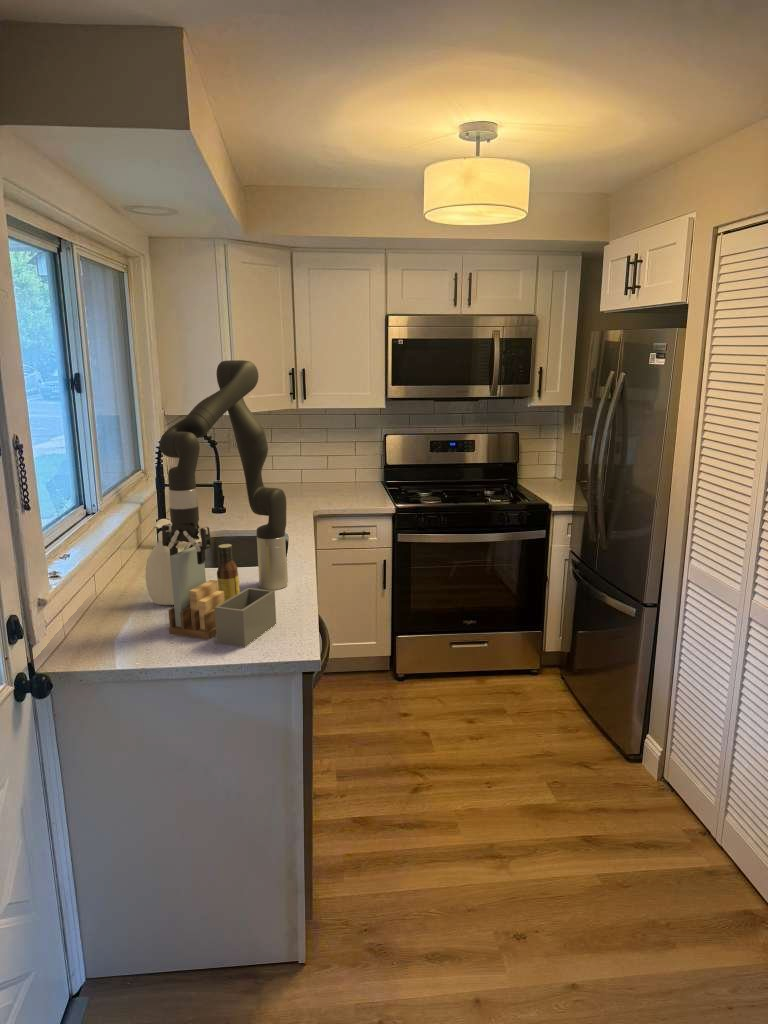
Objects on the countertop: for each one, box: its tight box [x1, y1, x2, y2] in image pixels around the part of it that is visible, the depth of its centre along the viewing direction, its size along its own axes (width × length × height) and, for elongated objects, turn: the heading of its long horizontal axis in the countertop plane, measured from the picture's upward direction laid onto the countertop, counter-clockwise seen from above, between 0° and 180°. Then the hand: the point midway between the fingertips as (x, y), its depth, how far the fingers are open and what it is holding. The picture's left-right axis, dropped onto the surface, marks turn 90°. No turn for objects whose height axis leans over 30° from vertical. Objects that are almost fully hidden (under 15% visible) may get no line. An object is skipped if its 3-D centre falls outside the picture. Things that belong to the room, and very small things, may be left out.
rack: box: [167, 606, 216, 640], centre depth 185 cm, size 14×13×7 cm
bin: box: [214, 587, 277, 648], centre depth 180 cm, size 17×9×10 cm, turn 160°
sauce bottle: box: [216, 543, 241, 601], centre depth 199 cm, size 7×6×20 cm
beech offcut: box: [198, 591, 225, 630], centre depth 183 cm, size 9×2×8 cm, turn 160°
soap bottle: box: [145, 518, 181, 607], centre depth 202 cm, size 14×8×27 cm, turn 81°
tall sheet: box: [170, 545, 207, 627], centre depth 185 cm, size 12×2×20 cm, turn 160°
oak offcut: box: [189, 579, 218, 625], centre depth 186 cm, size 10×2×10 cm, turn 160°
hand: (187, 562), depth 183 cm, fingers open, 8 cm apart
